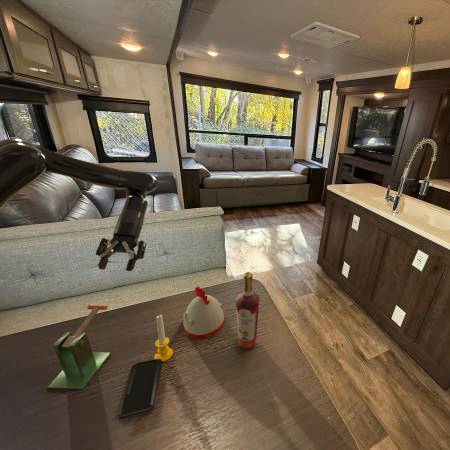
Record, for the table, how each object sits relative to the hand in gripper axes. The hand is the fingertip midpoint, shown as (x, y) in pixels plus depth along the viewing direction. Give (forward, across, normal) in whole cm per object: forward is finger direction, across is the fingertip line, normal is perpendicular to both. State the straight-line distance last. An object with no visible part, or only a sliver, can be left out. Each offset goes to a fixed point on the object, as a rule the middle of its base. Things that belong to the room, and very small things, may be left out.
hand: (115, 270), depth 81 cm
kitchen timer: (+15, +28, +14) cm, 35 cm away
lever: (+17, 0, -4) cm, 18 cm away
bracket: (+29, 0, 0) cm, 29 cm away
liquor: (+21, +45, +9) cm, 50 cm away
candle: (+25, +20, +4) cm, 32 cm away
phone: (+32, +19, -3) cm, 37 cm away
